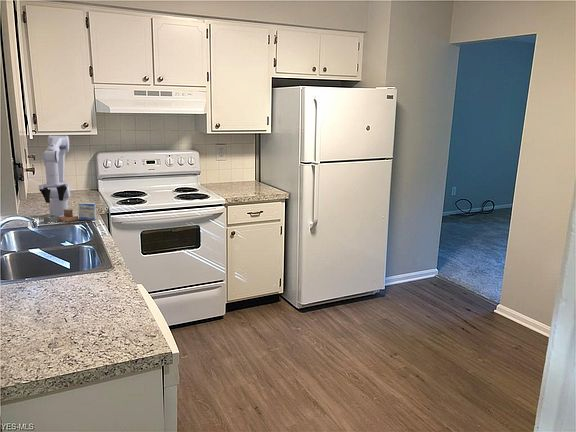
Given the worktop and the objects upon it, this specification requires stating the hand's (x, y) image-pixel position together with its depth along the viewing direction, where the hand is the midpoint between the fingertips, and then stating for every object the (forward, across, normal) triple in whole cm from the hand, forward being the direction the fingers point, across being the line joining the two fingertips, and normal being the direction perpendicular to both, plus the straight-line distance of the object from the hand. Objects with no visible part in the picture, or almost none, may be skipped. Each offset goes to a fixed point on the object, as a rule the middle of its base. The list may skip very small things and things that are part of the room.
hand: (54, 201), depth 231 cm
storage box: (+10, -2, +1) cm, 11 cm away
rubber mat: (+10, +5, -3) cm, 12 cm away
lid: (+10, +5, -3) cm, 12 cm away
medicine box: (+10, +11, -9) cm, 18 cm away
